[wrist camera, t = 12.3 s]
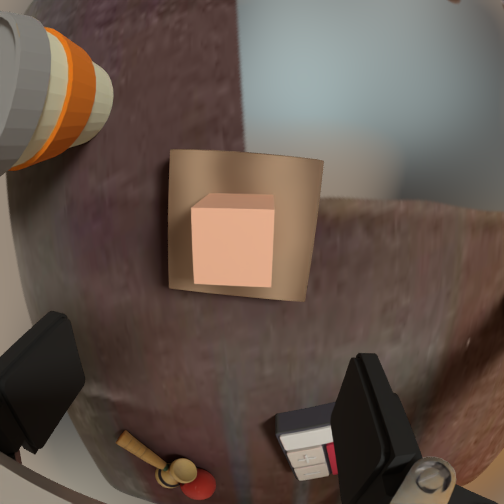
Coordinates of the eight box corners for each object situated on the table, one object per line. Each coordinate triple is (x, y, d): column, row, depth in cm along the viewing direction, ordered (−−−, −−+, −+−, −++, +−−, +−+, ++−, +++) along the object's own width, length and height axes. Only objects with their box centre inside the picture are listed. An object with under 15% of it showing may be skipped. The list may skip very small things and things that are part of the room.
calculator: (296, 483, 38) (274, 438, 32) (295, 462, 42) (274, 412, 36) (366, 469, 36) (364, 419, 31) (361, 448, 40) (357, 394, 35)
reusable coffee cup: (116, 170, 27) (6, 198, 13) (28, 157, 27) (-74, 178, 13) (143, 46, 23) (50, -12, 9) (49, 51, 23) (-49, 28, 9)
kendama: (118, 435, 43) (202, 489, 43) (104, 456, 37) (196, 512, 37) (137, 413, 42) (227, 471, 42) (123, 435, 36) (222, 497, 36)
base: (316, 159, 27) (323, 160, 23) (300, 282, 31) (304, 301, 27) (183, 149, 27) (170, 149, 23) (180, 271, 31) (169, 288, 27)
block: (273, 194, 24) (274, 209, 18) (271, 255, 26) (271, 287, 20) (209, 193, 24) (191, 207, 18) (210, 253, 26) (194, 283, 20)
